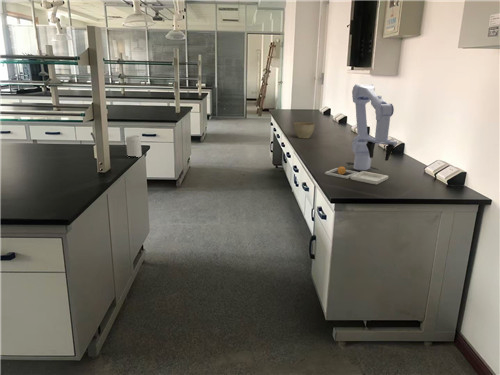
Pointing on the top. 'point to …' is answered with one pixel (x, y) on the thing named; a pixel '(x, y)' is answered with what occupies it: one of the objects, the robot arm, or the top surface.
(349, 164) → the black flat plate
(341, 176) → the tray
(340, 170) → the ball
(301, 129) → the planter bowl
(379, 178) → the dish
